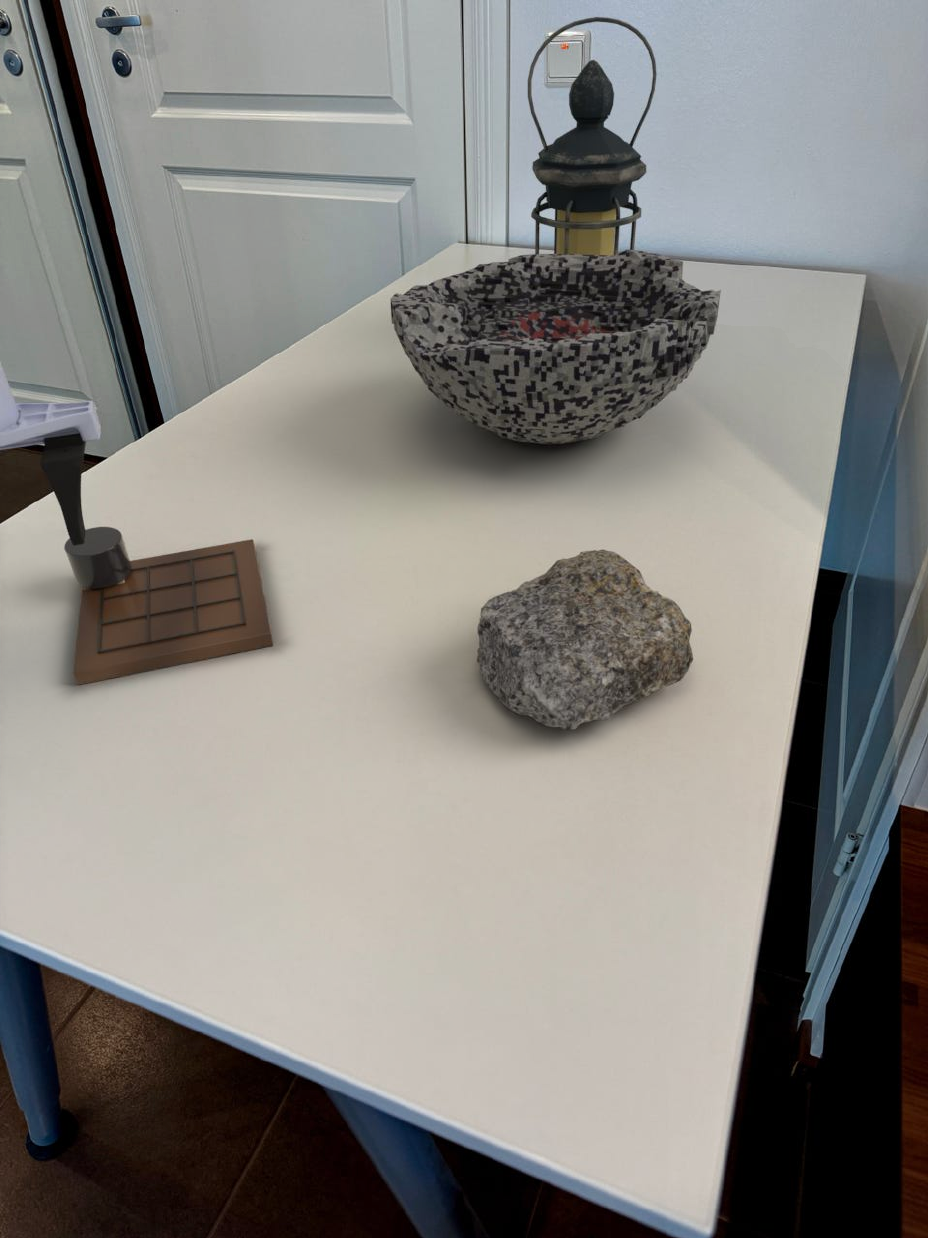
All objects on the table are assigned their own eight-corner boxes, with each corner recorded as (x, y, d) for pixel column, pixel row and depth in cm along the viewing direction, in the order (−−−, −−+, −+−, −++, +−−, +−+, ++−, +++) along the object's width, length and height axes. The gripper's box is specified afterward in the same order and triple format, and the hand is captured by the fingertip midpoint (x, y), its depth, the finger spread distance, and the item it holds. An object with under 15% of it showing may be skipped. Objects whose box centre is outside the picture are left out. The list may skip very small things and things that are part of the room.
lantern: (626, 321, 120) (649, 9, 99) (645, 356, 109) (675, 16, 88) (522, 326, 120) (522, 15, 99) (530, 362, 109) (533, 22, 88)
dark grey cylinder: (87, 595, 69) (74, 562, 68) (68, 572, 72) (56, 539, 70) (140, 574, 72) (130, 541, 70) (120, 553, 74) (109, 520, 72)
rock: (545, 766, 55) (720, 683, 61) (551, 690, 51) (738, 609, 57) (443, 655, 64) (606, 592, 70) (442, 583, 60) (615, 522, 66)
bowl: (712, 383, 102) (732, 247, 93) (681, 518, 78) (703, 353, 69) (456, 361, 110) (450, 235, 101) (357, 478, 86) (339, 326, 77)
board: (77, 685, 63) (71, 671, 62) (87, 580, 74) (82, 566, 73) (273, 645, 66) (270, 631, 65) (255, 550, 77) (252, 536, 76)
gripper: (75, 317, 57) (131, 502, 65) (-174, 347, 54) (-82, 537, 62) (67, 354, 51) (129, 551, 59) (-210, 390, 48) (-104, 592, 56)
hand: (21, 547), depth 60 cm, fingers open, 7 cm apart
